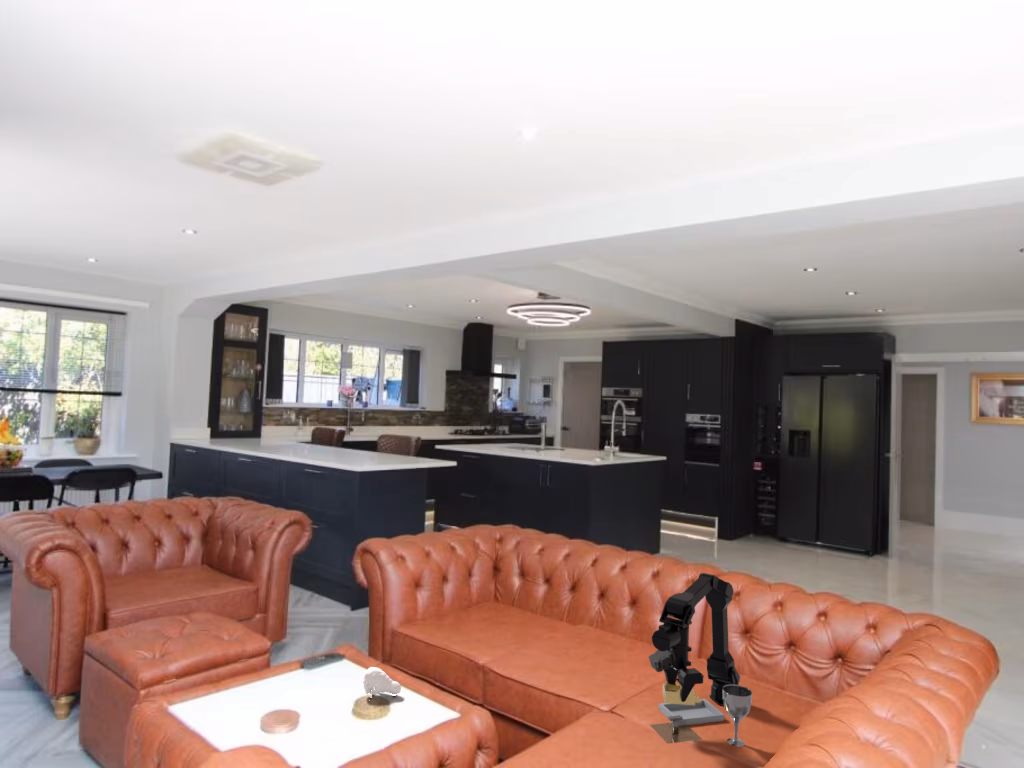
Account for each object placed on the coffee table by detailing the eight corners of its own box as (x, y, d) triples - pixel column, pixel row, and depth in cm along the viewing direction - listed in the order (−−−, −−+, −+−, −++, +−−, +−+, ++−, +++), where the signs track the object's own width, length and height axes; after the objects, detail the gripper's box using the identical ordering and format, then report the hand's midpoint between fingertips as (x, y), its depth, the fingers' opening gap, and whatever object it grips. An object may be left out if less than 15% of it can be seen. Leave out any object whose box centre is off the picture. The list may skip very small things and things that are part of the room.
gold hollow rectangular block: (665, 703, 197) (665, 691, 197) (662, 694, 203) (663, 682, 203) (702, 705, 196) (702, 694, 196) (698, 697, 202) (699, 685, 202)
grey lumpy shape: (368, 662, 222) (405, 668, 221) (365, 689, 222) (401, 695, 221) (362, 670, 216) (400, 676, 215) (359, 697, 216) (396, 704, 215)
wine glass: (716, 736, 199) (718, 684, 199) (743, 736, 199) (745, 684, 199) (727, 751, 191) (729, 696, 191) (755, 750, 191) (757, 696, 191)
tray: (704, 705, 218) (704, 698, 218) (724, 722, 208) (724, 714, 208) (658, 710, 214) (658, 703, 214) (676, 727, 203) (676, 720, 203)
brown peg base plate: (682, 722, 207) (683, 706, 207) (702, 740, 196) (702, 724, 196) (649, 726, 204) (649, 710, 204) (667, 745, 193) (668, 728, 193)
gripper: (638, 632, 207) (637, 685, 206) (669, 656, 189) (667, 713, 188) (672, 630, 210) (670, 681, 209) (705, 653, 192) (703, 709, 191)
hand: (676, 696), depth 200 cm, fingers closed on gold hollow rectangular block, 7 cm apart
